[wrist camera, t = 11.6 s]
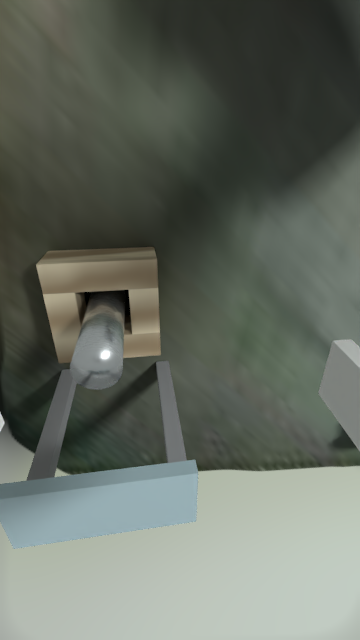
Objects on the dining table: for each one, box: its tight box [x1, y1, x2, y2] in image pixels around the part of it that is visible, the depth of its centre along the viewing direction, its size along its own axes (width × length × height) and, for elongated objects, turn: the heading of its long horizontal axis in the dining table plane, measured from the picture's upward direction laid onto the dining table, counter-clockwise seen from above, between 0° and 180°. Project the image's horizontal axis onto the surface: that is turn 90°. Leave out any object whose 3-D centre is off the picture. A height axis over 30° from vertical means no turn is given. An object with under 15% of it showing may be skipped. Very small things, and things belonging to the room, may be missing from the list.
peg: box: [70, 290, 125, 390], centre depth 32 cm, size 4×4×15 cm
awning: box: [0, 361, 198, 549], centre depth 33 cm, size 6×15×21 cm, turn 90°
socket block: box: [36, 247, 161, 363], centre depth 36 cm, size 12×12×5 cm
